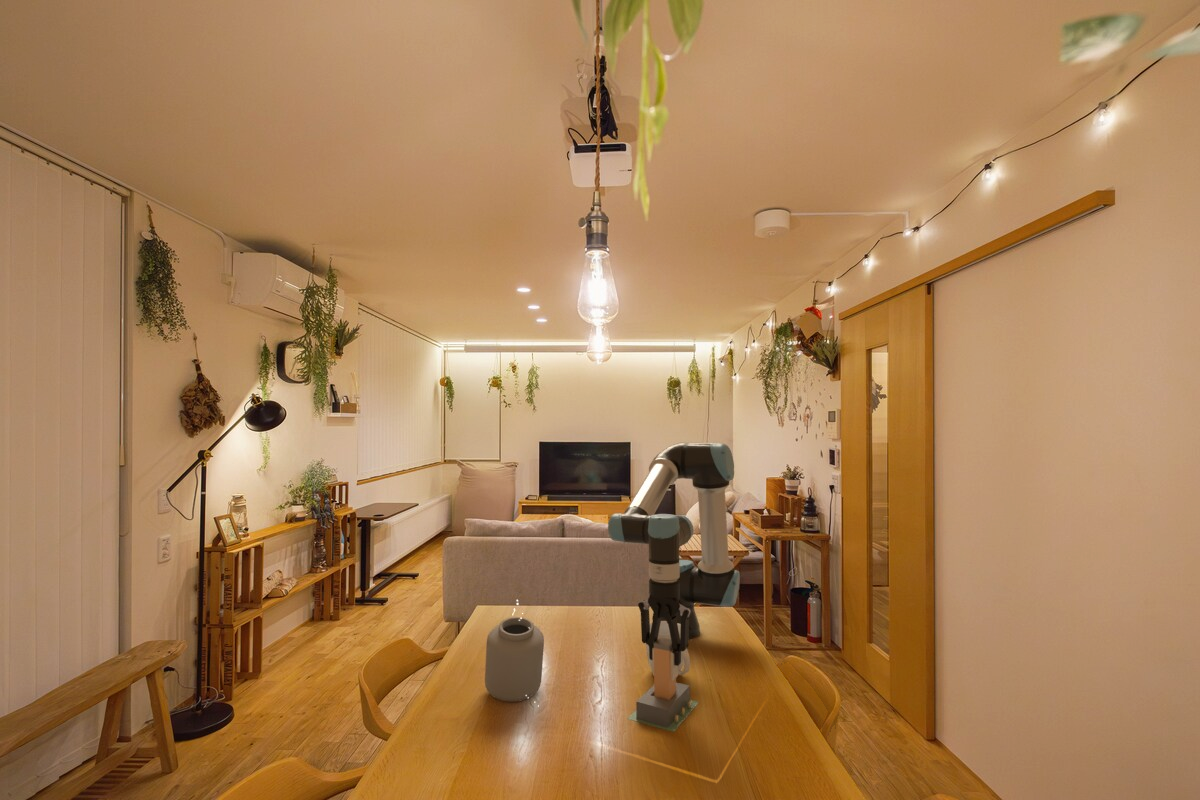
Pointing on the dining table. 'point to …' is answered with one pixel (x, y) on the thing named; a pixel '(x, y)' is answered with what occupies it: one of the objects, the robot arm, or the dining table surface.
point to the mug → (665, 633)
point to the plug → (663, 669)
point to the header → (664, 708)
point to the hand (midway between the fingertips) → (665, 675)
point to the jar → (514, 659)
